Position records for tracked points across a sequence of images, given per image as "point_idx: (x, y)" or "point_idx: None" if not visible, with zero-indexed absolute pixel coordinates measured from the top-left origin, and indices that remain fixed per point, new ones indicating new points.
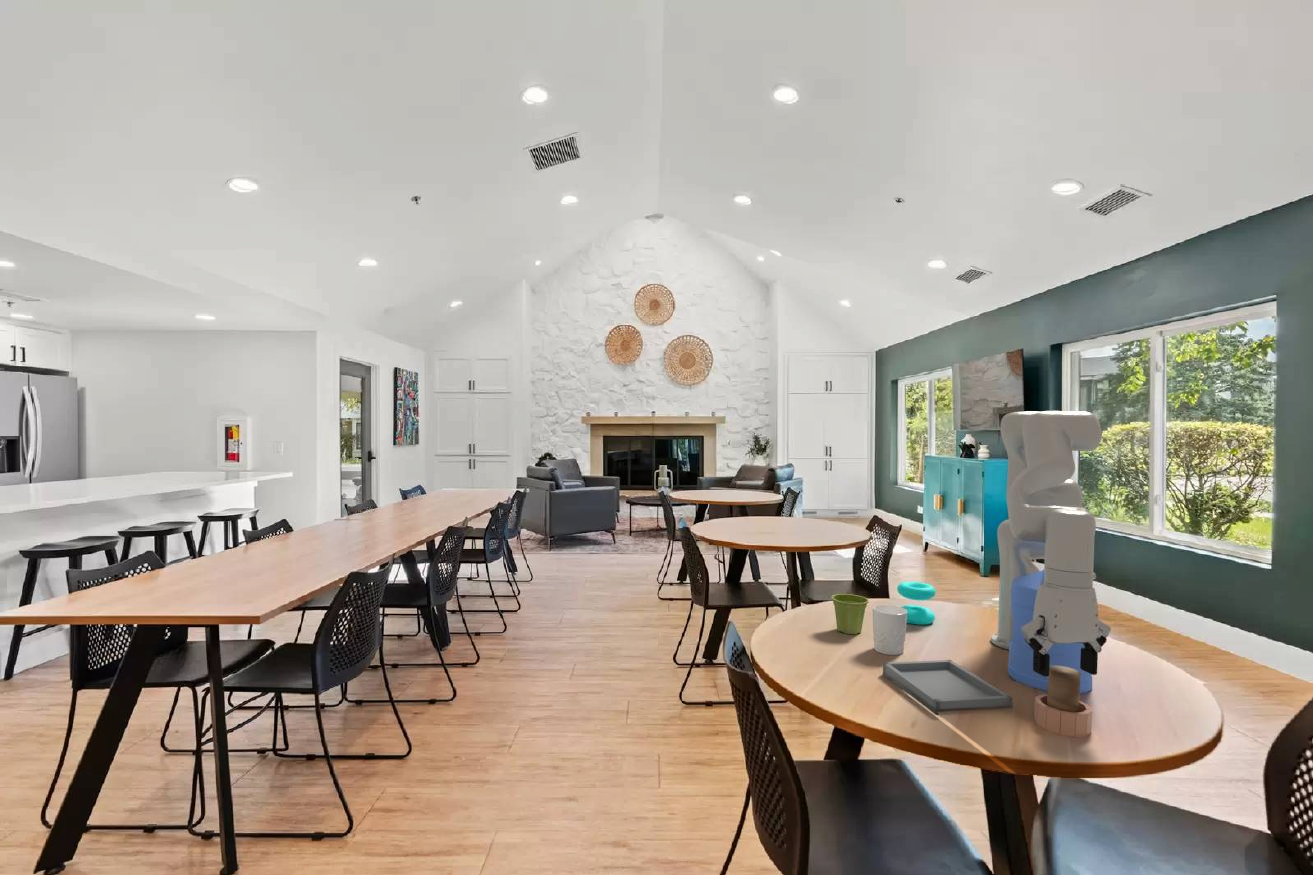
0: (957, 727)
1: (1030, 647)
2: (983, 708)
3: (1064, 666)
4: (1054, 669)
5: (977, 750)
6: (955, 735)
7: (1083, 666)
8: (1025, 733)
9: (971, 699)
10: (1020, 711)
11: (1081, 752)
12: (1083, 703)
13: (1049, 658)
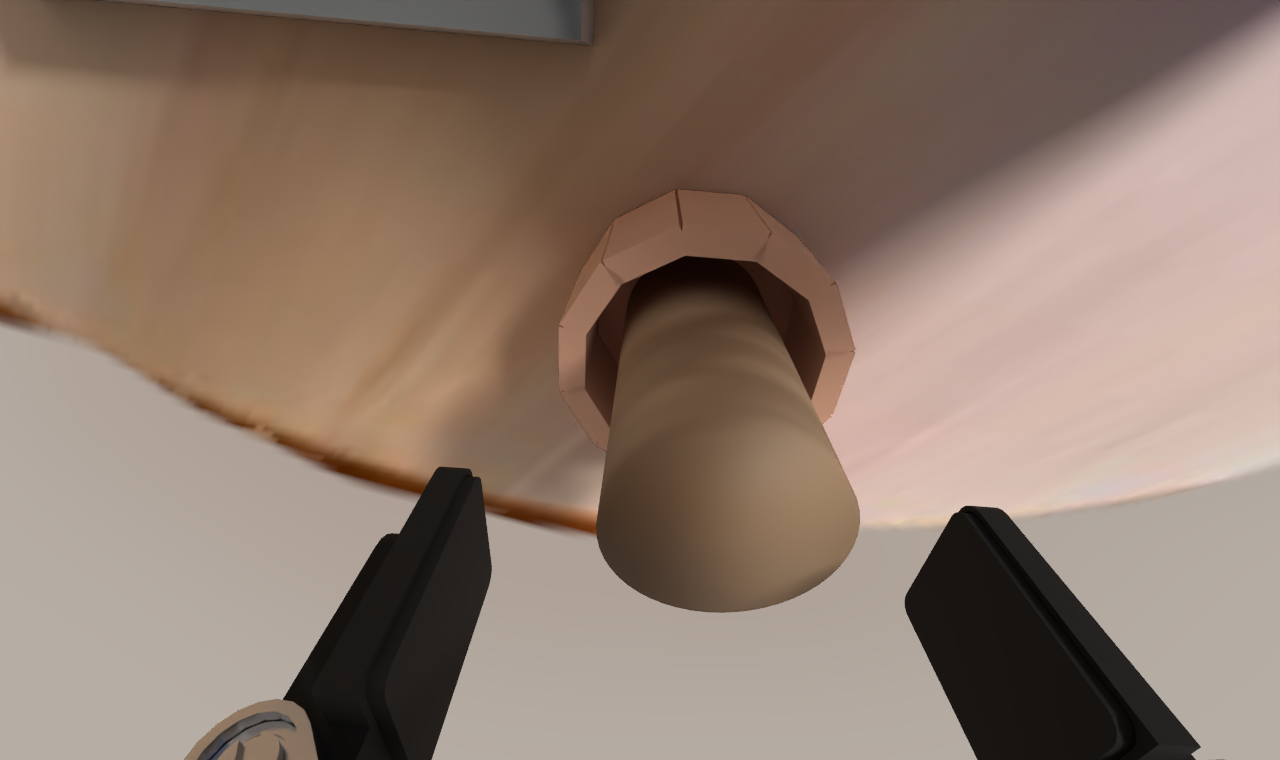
0: (155, 190)
1: (205, 742)
2: (371, 24)
3: (839, 470)
4: (658, 502)
5: (200, 385)
6: (129, 263)
7: (962, 562)
8: (481, 314)
9: (227, 4)
10: (640, 73)
11: (596, 466)
12: (829, 392)
13: (432, 747)
